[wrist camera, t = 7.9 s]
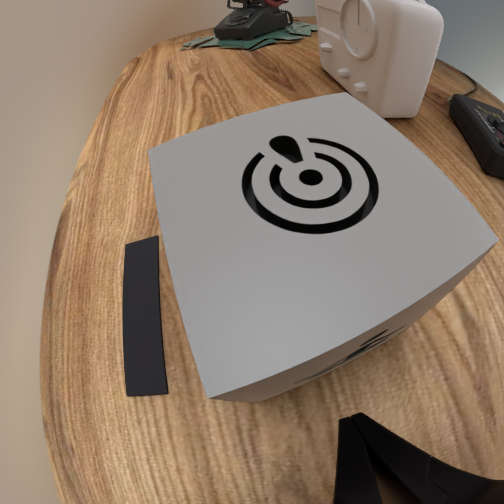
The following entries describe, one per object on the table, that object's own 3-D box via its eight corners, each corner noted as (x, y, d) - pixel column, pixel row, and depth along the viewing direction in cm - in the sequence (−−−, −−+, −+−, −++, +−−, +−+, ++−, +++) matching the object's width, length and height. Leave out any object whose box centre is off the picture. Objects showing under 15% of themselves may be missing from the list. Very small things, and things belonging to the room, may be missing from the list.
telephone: (250, 21, 67) (242, -28, 50) (340, 28, 54) (337, -31, 37) (170, 52, 54) (151, -11, 37) (273, 54, 42) (260, -38, 25)
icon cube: (205, 263, 19) (148, 149, 11) (332, 213, 20) (345, 91, 12) (257, 402, 14) (207, 398, 5) (405, 329, 15) (498, 240, 6)
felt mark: (168, 393, 15) (167, 393, 14) (128, 396, 15) (126, 396, 15) (158, 236, 21) (157, 235, 21) (126, 245, 21) (125, 244, 21)
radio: (307, 64, 37) (294, -67, 16) (351, 63, 37) (348, -61, 16) (369, 132, 25) (373, -91, 4) (427, 130, 25) (449, -61, 4)
